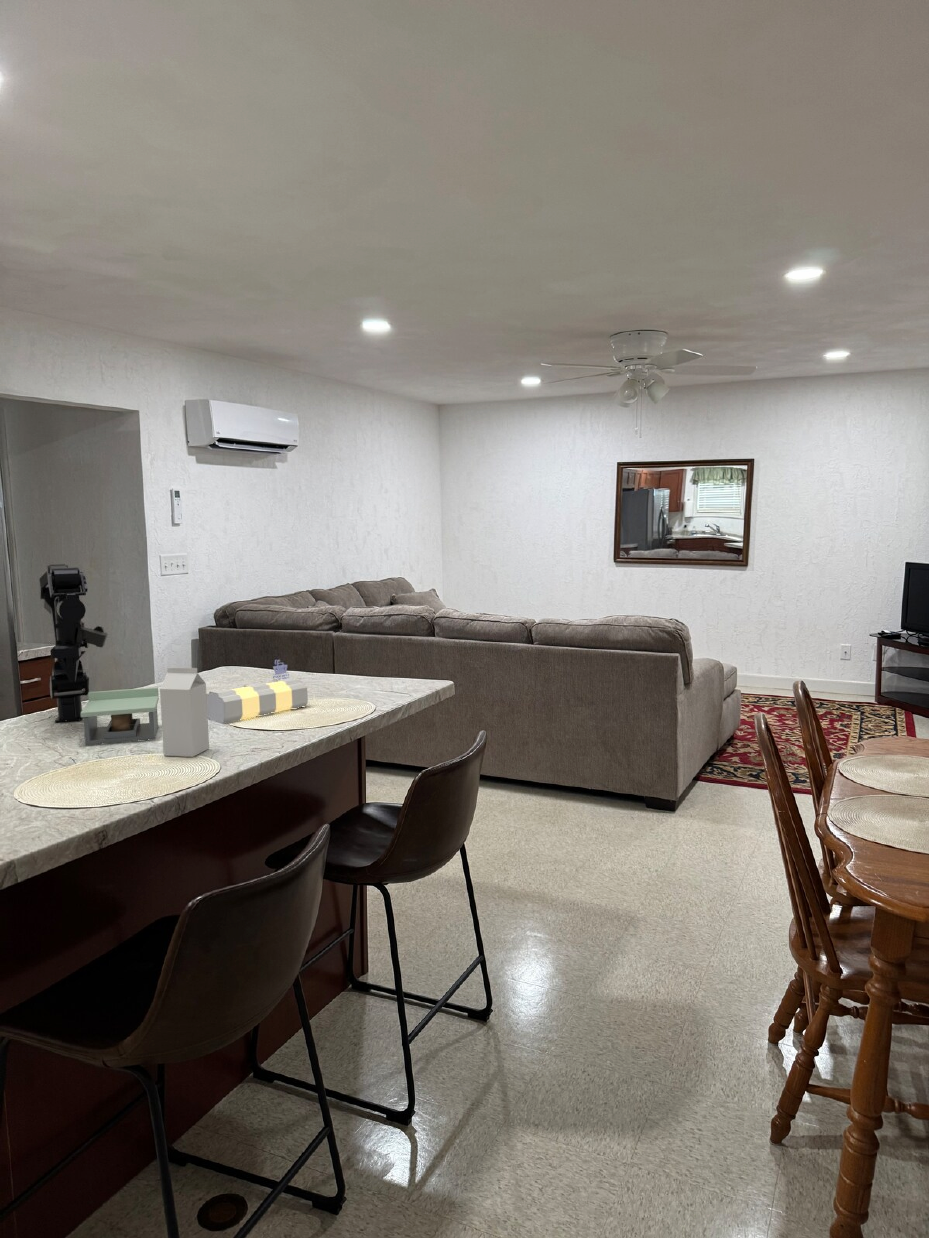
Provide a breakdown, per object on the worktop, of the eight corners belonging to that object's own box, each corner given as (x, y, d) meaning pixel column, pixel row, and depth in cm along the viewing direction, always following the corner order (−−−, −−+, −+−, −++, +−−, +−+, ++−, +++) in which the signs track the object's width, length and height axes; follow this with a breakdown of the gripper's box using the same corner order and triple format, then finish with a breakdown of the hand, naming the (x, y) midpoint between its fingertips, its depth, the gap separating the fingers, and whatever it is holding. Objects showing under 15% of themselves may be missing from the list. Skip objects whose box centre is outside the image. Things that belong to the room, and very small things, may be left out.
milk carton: (193, 757, 182) (188, 671, 179) (163, 756, 183) (158, 670, 181) (209, 748, 189) (205, 665, 186) (180, 747, 190) (176, 664, 188)
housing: (93, 731, 206) (91, 705, 206) (158, 726, 211) (156, 700, 210) (85, 745, 193) (83, 717, 192) (154, 739, 197) (153, 712, 197)
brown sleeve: (113, 737, 196) (111, 716, 195) (112, 733, 200) (110, 712, 199) (131, 734, 198) (129, 713, 197) (129, 731, 201) (128, 710, 201)
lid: (89, 703, 206) (88, 691, 206) (158, 699, 211) (158, 687, 210) (80, 717, 192) (79, 704, 191) (155, 711, 196) (154, 698, 196)
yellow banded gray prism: (287, 703, 237) (285, 657, 235) (308, 708, 229) (306, 661, 228) (205, 719, 219) (202, 669, 218) (225, 725, 212) (222, 674, 210)
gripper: (99, 621, 200) (103, 685, 201) (108, 613, 217) (112, 672, 219) (47, 623, 196) (52, 689, 198) (61, 615, 214) (65, 675, 216)
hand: (72, 681), depth 208 cm, fingers closed
